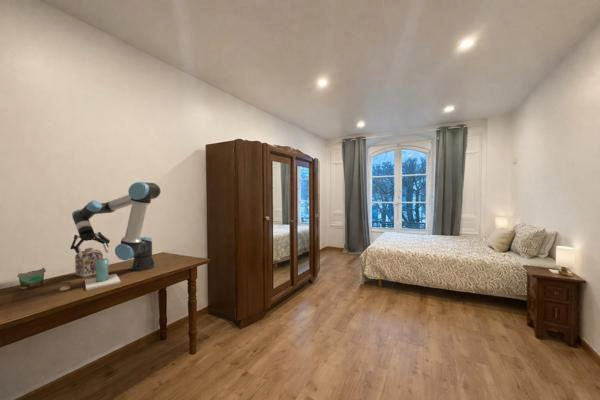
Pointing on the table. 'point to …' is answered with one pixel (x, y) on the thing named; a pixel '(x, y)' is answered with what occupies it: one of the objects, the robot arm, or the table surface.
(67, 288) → the beige mottled disc
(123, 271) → the table surface
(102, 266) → the teal canister
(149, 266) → the robot arm
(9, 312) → the table surface
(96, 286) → the pale board
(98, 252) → the decorative jar
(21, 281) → the food container
